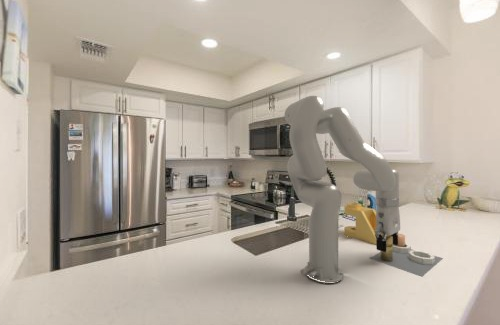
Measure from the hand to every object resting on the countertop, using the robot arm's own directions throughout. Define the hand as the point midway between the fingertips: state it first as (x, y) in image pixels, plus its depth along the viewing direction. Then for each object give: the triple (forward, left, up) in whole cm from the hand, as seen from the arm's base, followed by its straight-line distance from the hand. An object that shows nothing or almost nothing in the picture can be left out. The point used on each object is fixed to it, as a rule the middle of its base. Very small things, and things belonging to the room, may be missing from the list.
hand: (387, 247), depth 87 cm
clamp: (+17, +18, -6) cm, 26 cm away
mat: (+7, -4, -6) cm, 10 cm away
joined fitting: (+14, +1, -5) cm, 14 cm away
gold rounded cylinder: (0, 0, -5) cm, 5 cm away
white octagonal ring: (+10, -8, -5) cm, 13 cm away
